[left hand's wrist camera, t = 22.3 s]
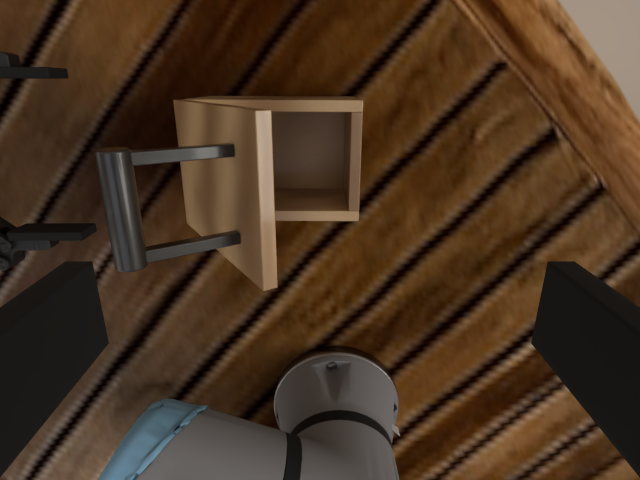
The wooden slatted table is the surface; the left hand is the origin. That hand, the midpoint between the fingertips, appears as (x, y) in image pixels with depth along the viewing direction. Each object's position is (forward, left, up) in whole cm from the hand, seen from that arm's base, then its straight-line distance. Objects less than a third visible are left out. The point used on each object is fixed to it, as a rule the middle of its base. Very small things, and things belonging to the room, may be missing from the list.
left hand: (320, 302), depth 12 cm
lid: (-4, +5, -17) cm, 18 cm away
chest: (-2, +3, -32) cm, 33 cm away
